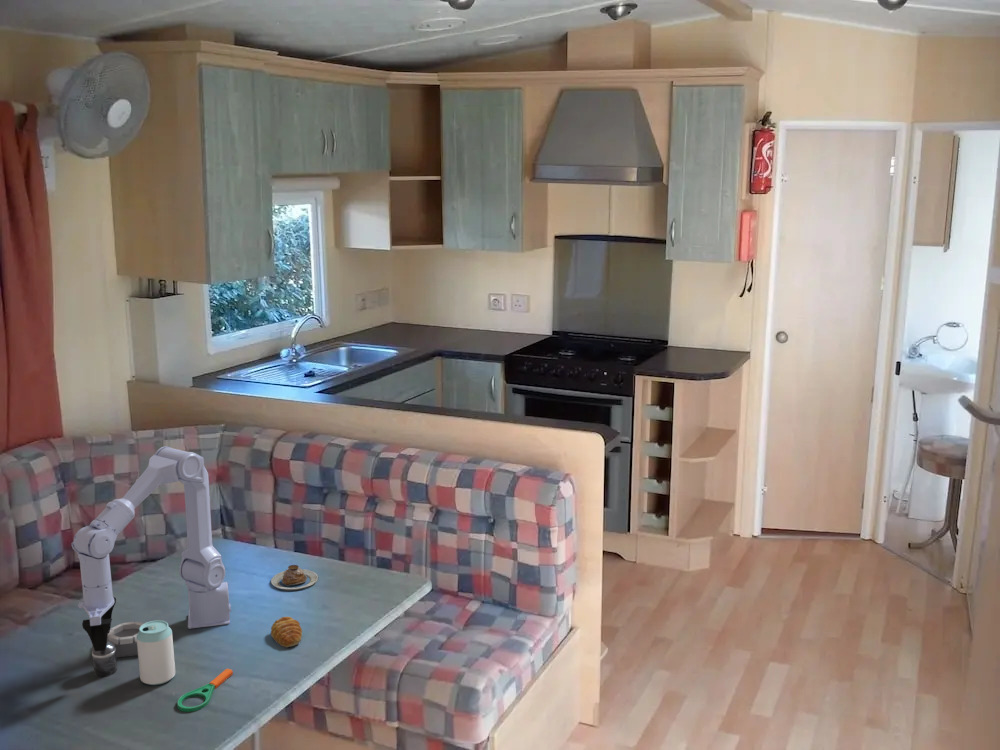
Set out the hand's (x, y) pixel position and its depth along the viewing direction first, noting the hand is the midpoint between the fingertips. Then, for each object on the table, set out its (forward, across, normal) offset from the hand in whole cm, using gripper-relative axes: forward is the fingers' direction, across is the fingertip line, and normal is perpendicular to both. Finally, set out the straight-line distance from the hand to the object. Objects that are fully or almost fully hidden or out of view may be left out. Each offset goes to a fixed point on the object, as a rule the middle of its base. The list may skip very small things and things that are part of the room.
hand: (102, 641), depth 206 cm
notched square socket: (+7, -10, +4) cm, 13 cm away
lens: (+7, 0, 0) cm, 7 cm away
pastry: (+7, -5, +39) cm, 40 cm away
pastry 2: (+8, -34, +43) cm, 55 cm away
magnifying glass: (+8, +14, +21) cm, 27 cm away
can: (+7, +6, +11) cm, 15 cm away
